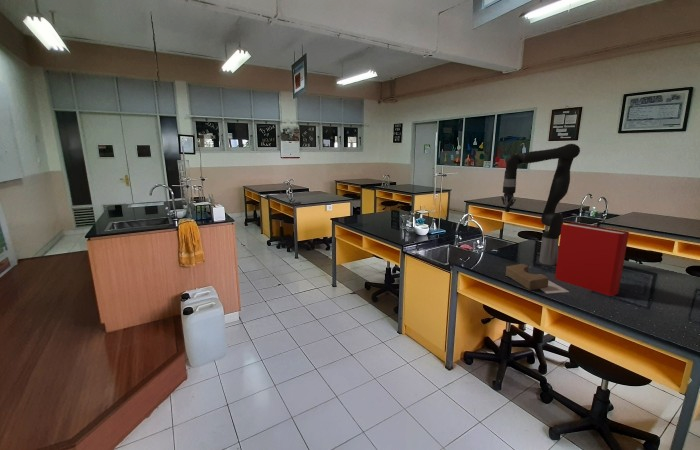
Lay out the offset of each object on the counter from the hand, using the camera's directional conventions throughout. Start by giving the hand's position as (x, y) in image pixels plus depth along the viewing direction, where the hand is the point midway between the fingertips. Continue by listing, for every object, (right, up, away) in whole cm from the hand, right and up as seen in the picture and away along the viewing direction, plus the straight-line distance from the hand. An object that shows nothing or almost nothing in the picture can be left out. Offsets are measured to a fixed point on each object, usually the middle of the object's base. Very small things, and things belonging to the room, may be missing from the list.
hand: (507, 211), depth 212 cm
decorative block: (-9, -34, -26) cm, 44 cm away
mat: (+1, -41, -38) cm, 56 cm away
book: (+22, -42, -40) cm, 62 cm away
